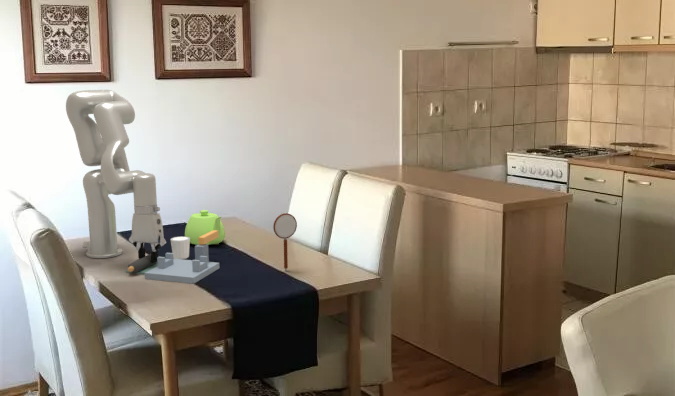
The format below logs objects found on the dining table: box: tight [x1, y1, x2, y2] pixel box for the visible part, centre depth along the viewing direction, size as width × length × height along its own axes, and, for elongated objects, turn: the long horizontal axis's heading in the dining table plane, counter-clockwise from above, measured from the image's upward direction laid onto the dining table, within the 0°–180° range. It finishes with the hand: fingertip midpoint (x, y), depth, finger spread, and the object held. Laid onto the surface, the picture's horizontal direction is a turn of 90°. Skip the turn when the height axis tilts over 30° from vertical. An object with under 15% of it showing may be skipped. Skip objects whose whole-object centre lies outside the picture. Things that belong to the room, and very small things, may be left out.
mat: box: [125, 262, 158, 276], centre depth 257 cm, size 8×16×1 cm, turn 162°
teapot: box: [184, 209, 226, 246], centre depth 287 cm, size 22×15×13 cm
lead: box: [127, 253, 160, 275], centre depth 254 cm, size 16×4×4 cm, turn 162°
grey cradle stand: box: [144, 244, 220, 285], centre depth 249 cm, size 18×18×8 cm
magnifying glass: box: [272, 212, 298, 272], centre depth 250 cm, size 9×2×20 cm, turn 120°
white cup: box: [170, 236, 191, 260], centre depth 269 cm, size 7×7×7 cm
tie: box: [198, 230, 219, 245], centre depth 258 cm, size 2×11×2 cm, turn 162°
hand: (148, 260), depth 256 cm, fingers open, 4 cm apart
